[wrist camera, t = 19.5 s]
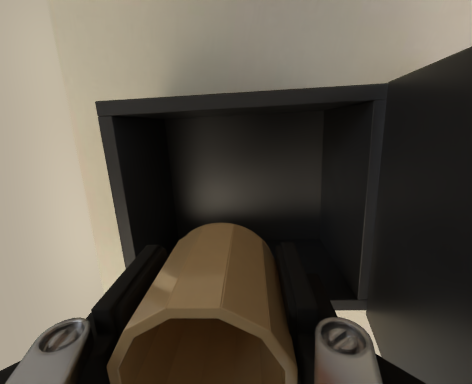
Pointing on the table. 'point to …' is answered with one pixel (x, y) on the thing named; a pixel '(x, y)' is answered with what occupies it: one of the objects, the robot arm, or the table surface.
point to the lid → (425, 225)
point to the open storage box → (254, 173)
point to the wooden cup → (210, 316)
